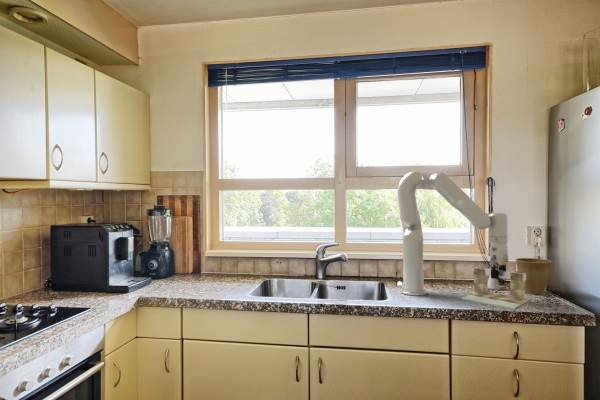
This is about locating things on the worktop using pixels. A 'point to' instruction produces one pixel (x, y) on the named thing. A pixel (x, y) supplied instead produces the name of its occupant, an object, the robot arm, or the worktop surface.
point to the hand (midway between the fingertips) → (498, 276)
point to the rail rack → (516, 294)
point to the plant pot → (534, 273)
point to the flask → (493, 284)
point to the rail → (502, 273)
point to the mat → (491, 302)
